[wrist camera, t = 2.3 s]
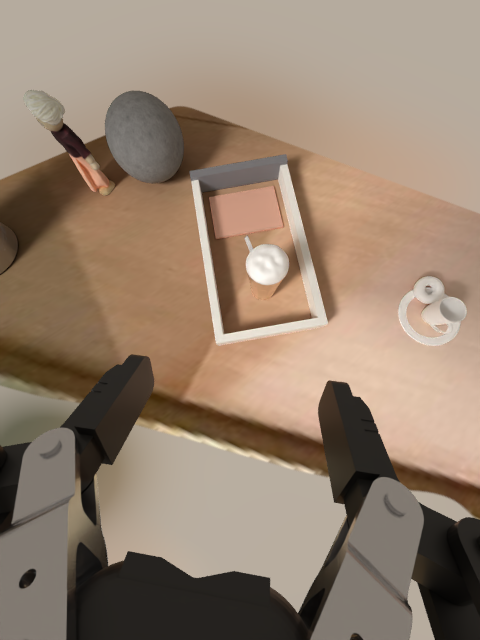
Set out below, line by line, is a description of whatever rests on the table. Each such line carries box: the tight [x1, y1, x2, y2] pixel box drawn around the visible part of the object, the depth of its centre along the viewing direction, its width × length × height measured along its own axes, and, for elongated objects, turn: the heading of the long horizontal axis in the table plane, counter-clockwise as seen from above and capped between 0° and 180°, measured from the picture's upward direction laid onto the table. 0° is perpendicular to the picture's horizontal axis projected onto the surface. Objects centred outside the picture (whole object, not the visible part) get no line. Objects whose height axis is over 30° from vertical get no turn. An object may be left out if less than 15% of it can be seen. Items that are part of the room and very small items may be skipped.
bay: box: [190, 154, 328, 346], centre depth 32 cm, size 14×25×3 cm, turn 10°
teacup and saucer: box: [398, 276, 467, 346], centre depth 30 cm, size 9×8×4 cm
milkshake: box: [245, 235, 289, 300], centre depth 28 cm, size 4×5×10 cm
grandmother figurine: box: [23, 90, 115, 196], centre depth 31 cm, size 8×4×13 cm, turn 57°
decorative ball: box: [105, 91, 184, 183], centre depth 32 cm, size 10×10×10 cm
